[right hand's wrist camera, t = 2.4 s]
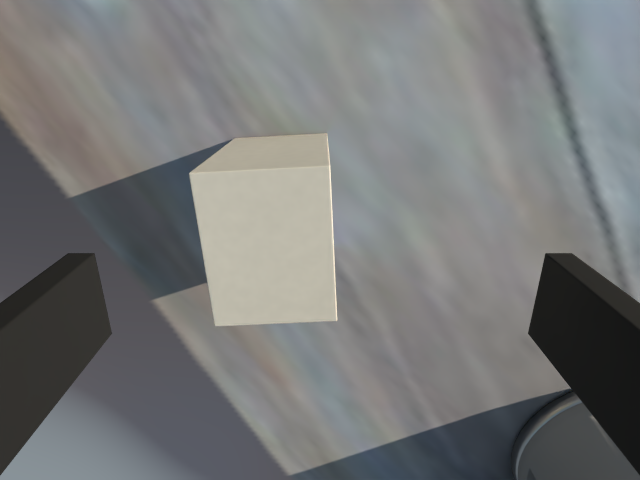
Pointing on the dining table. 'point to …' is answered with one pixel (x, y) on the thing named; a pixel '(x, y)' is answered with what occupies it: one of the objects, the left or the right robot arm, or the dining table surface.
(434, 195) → the dining table surface
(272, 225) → the brick
